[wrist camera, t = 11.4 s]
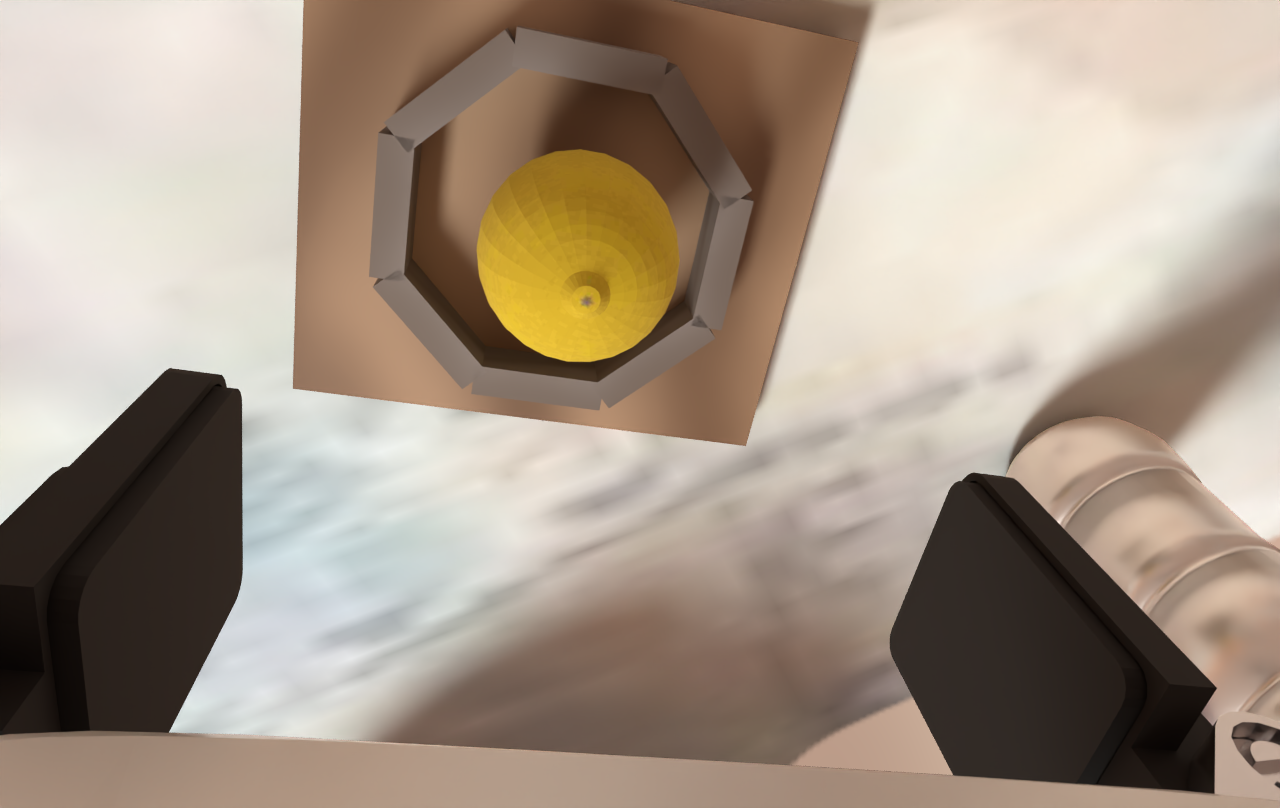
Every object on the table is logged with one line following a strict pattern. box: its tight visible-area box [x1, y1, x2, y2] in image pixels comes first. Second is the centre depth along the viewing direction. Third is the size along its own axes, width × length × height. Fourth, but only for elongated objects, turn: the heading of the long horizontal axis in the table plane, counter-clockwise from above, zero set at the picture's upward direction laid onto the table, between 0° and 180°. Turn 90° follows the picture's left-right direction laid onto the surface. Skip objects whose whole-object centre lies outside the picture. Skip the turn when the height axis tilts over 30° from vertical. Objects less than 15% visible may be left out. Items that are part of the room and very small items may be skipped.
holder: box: [293, 0, 859, 446], centre depth 27 cm, size 16×14×3 cm
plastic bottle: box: [1005, 416, 1280, 726], centre depth 26 cm, size 6×7×20 cm
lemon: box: [477, 149, 680, 362], centre depth 23 cm, size 6×6×8 cm
